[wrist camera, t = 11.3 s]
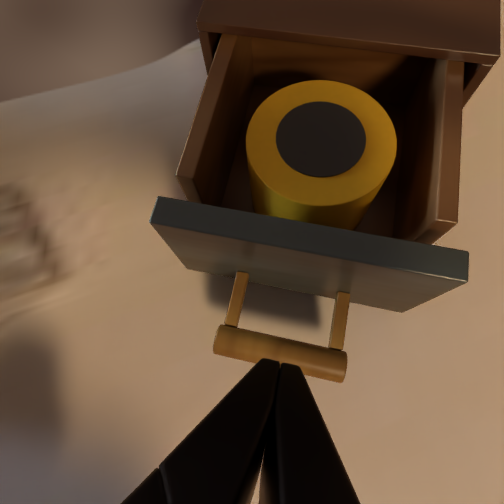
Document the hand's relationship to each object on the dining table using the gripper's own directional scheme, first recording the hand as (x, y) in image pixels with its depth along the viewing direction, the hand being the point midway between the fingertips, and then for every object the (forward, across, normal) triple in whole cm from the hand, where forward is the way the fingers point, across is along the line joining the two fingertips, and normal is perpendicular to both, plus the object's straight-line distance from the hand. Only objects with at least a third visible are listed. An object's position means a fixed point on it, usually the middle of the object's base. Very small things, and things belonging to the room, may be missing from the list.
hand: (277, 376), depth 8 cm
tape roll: (+14, 0, -1) cm, 14 cm away
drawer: (+14, 0, 0) cm, 14 cm away
